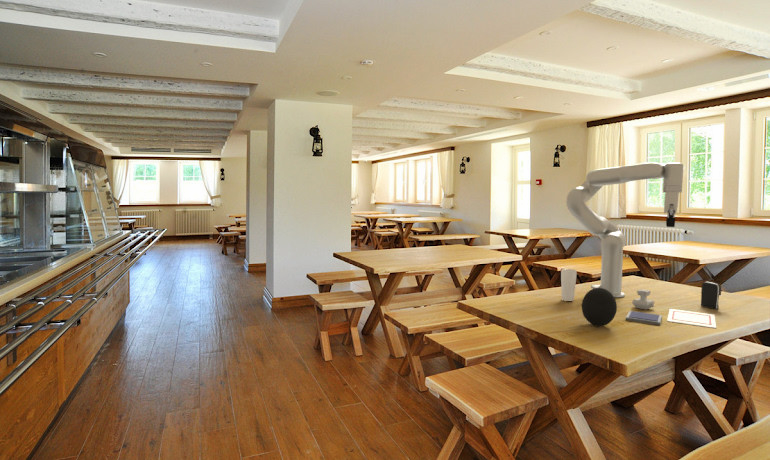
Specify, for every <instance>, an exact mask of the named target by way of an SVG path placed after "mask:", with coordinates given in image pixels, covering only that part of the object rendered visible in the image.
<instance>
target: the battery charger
mask: <svg viewBox="0 0 770 460" xmlns="http://www.w3.org/2000/svg"><path fill="white" fill-rule="evenodd" d="M700 291H701V292H700V294H701V295H700V298H701V299H700V300H701V301H700V305H701V306H702V307H705V308H709V309H714V310H718V309H719V299H720V296H721V295H722V285H721V284H719V283H717V282H714V281H713V282H711V281H703V283H702V284H701V290H700Z"/></svg>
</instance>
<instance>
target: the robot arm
mask: <svg viewBox="0 0 770 460" xmlns="http://www.w3.org/2000/svg"><path fill="white" fill-rule="evenodd" d="M683 177H684V164H683V163H682V162H667V163H659V162H655V161H651V162H643V163H636V164H630V165H620V166H618V165H617V166H613V167H605V168H599V169H592V170H590V171H589V172H587V174H586V178H585V181H584V182H582V184H581V185H580V186H576V187H574V188H572V189H571V190H569V192H568V194H567V195H566V201H565V202H566V207H567V209H568V211H569V213H570V214H571V215H572V216H573V217H574V219H576V220H577V221H578V222H579V223H580V224H581V226H583V227H584V229H586V230H587V231H588V233H590V234H591V235H593V236H596V237H598V238H599V239H600V240H601V245H600V247H601V267H600V268H601V270H600V284H598V285H596V284H591V286H590V288H591V289H594V288H603V289H606V290H608V291H609V292H610V293H611V294H612V295H613V296H614V298H624V297H625V293H624V292H622V282H623V281H622V280H623V263H624V259H623V258H624V253H623V252H624V247H625V246H626V244H627V238H626V235H625V234H624V233H623V232H622V231H621V230H620V229H619V228H618V227H617V226H615V225H614V224H613V223H612V222H611V221H610V220H609V219H607V218H606V217H604V216H600V215H598V214H597V213H595V212H594V211H593V210H592V208H591V207H589V206H588V205H587V204H586V203H587V202H589V201H590V200H591V199H592V198H593V196H595V195H596V194H597V193H598V192H599V191H600V190H601V189H602V188H603V186H611V185H622V184H626V183H628V182H634V181H643V180H651V179H653V180H657V179H663V180H662V181H663V182H662V194H663V193H664V201H663V202H664V203H663V207H664V208H663V213H664V214H665V215H667V216H666V220H665V225H666V227H667V228H675V227H676V226H675V225H676V217H675V216H676V214H677V212H678V207H679V206H678V205H679V195H680V193H682V192H683V181H684V180H683ZM666 213H667V214H666Z"/></svg>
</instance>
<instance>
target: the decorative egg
mask: <svg viewBox="0 0 770 460" xmlns="http://www.w3.org/2000/svg"><path fill="white" fill-rule="evenodd" d="M617 307H618V306H617V301H616V297H614V296H613V295H612V294H611V293H610V292H609V291H608V290H606V289H603V288H594V289H593V288H591V289H590V290H588V291H587V292H586V294H584V296H583V298H582V302H581V311H582V315H583V316H584V318H585V320H586V321H587V322H588V323H589V324H590V325H593V326H595V325H596V326H595V327H604V326H607V325H608V324H610V323H611V322H612V321H613V320H614V319H615V317H616V313H617V311H618V310H617Z"/></svg>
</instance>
